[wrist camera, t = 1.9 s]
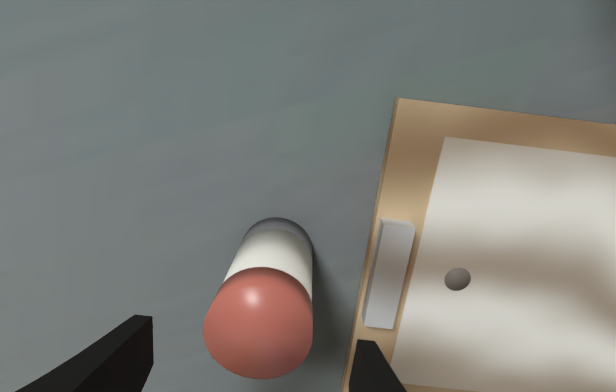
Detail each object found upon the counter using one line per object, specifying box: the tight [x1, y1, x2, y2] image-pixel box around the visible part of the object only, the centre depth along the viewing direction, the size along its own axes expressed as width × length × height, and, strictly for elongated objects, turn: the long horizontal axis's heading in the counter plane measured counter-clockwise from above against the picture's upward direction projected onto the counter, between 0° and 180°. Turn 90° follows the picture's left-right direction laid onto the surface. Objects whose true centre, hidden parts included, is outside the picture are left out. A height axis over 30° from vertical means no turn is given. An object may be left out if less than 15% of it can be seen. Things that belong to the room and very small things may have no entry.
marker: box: [203, 218, 313, 379], centre depth 16 cm, size 4×4×7 cm
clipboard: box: [341, 97, 616, 392], centre depth 19 cm, size 18×24×2 cm
